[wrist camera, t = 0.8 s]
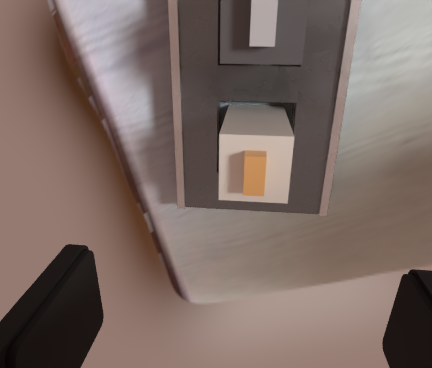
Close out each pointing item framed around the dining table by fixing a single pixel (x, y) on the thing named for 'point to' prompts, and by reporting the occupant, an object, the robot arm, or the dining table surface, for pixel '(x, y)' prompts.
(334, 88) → the panel
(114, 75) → the dining table surface
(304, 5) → the matte charcoal box
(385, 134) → the dining table surface
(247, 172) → the white block orange tab
